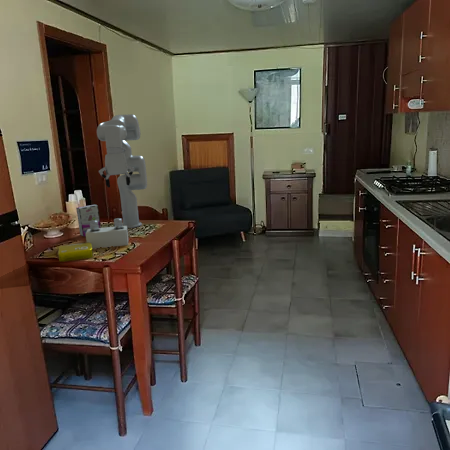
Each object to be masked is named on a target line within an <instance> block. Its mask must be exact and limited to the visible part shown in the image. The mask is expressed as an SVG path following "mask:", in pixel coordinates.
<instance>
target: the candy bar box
mask: <svg viewBox="0 0 450 450" xmlns="http://www.w3.org/2000/svg"><path fill="white" fill-rule="evenodd" d="M75 210H76V216H77V221H78V230H79V235H80V236H82V237H86V234H85V233H86V232H87V230H88V229H90V221H92V220H98V227H99V228H102V226H101V222H100V220H101V219H100V212H99V206H98V205H97V204H91V205H84V206H79V207H76V209H75Z"/></svg>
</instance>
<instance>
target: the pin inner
mask: <svg viewBox="0 0 450 450" xmlns="http://www.w3.org/2000/svg"><path fill="white" fill-rule="evenodd" d="M113 224H114V226H113V227H115V230H119V229H123V226H122V224H123V217H122V218H120V217H117V218H113Z"/></svg>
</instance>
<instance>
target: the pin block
mask: <svg viewBox="0 0 450 450" xmlns="http://www.w3.org/2000/svg"><path fill="white" fill-rule="evenodd" d="M128 232H129V231H128V228H127V226H123V229H119V230H115V226H109V227H108V226H107V227H101V228H99V231H96V232H91V229H88V230H87V232H86V233H85V234H86V236H85V241H86V242H85V243H88V242H89V243H91V245H92V249H100V247H102V248H110V247H111V246H113V247H121V246H122V247H123V246H128V245H129V233H128ZM111 248H112V247H111Z"/></svg>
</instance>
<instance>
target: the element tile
mask: <svg viewBox="0 0 450 450" xmlns="http://www.w3.org/2000/svg"><path fill="white" fill-rule="evenodd" d="M93 251H94V250H93V248H92V245H91V243H89V242H88V243H87V242H81V243H73V244H66V245H60V246H58V251H57V255H58V260H59V261H58V262H60V263H61V262H70V261H78V260H83V259H84V260H85V259H91V258H93V257H94V252H93Z"/></svg>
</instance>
